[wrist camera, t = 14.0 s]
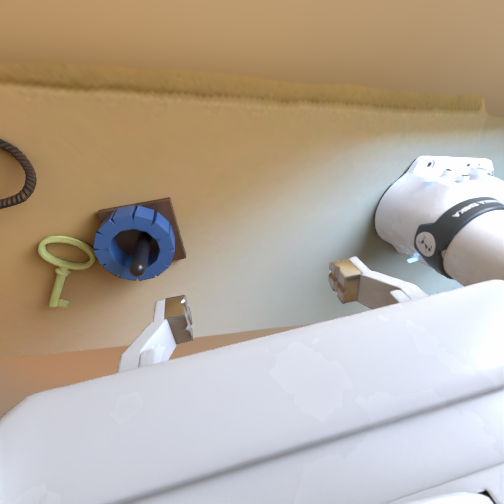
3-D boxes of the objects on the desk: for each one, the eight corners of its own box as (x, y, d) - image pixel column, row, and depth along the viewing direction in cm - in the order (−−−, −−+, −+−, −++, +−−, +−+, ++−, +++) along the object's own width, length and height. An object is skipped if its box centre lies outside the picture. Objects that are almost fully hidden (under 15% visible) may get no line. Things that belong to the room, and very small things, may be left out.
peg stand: (169, 197, 41) (166, 229, 32) (186, 254, 46) (187, 295, 38) (99, 209, 40) (75, 246, 31) (123, 267, 45) (109, 312, 36)
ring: (163, 199, 40) (161, 209, 37) (181, 259, 45) (181, 271, 42) (87, 213, 39) (79, 224, 36) (115, 273, 44) (111, 287, 41)
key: (53, 301, 46) (47, 310, 44) (38, 233, 40) (31, 240, 38) (102, 300, 48) (99, 309, 46) (94, 235, 42) (91, 242, 40)
